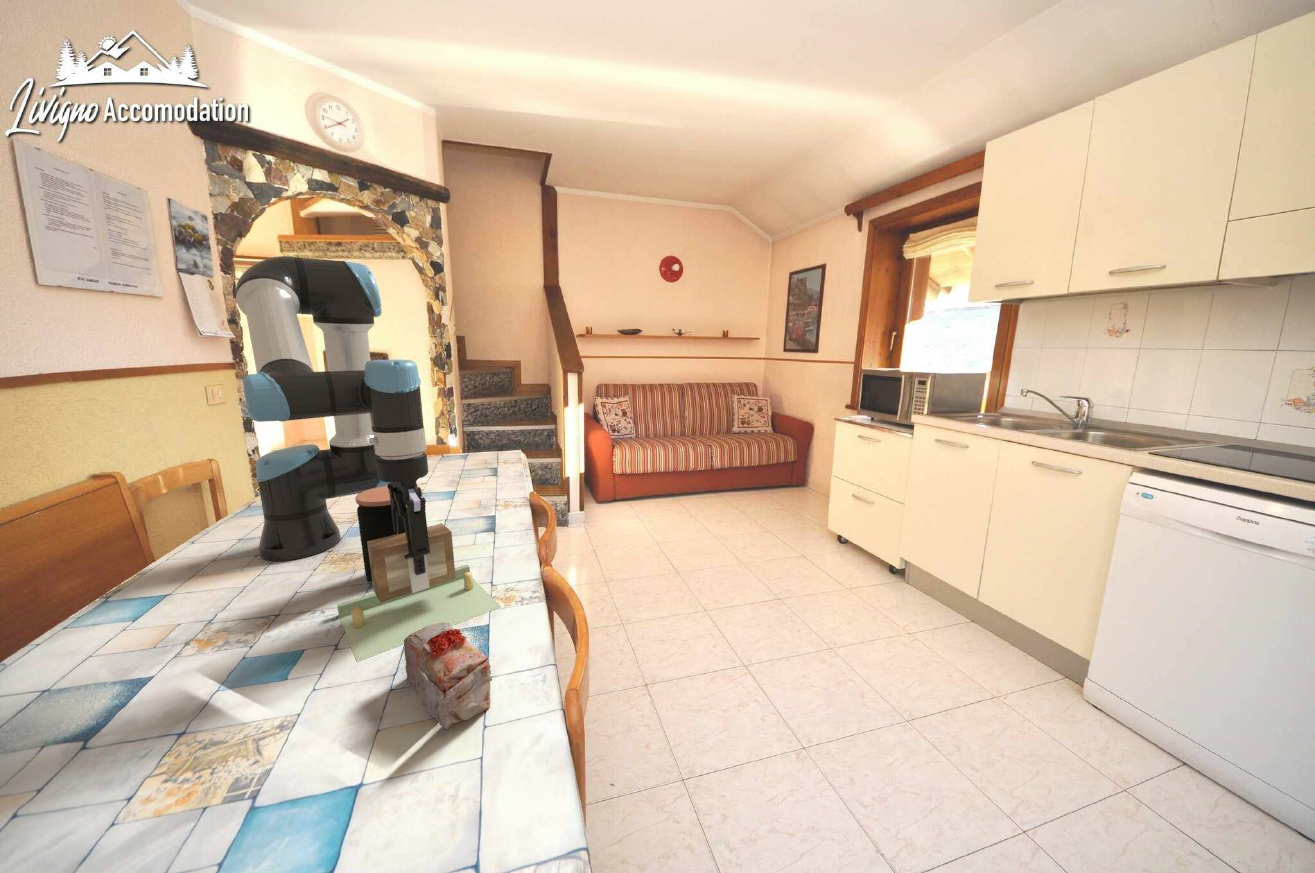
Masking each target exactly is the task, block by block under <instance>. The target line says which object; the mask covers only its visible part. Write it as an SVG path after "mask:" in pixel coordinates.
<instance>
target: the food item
mask: <svg viewBox="0 0 1315 873" xmlns="http://www.w3.org/2000/svg"><path fill="white" fill-rule="evenodd" d="M403 645H404V647H403V651H404V652H403V653H404V660H405V661H404V662H405V667H404V668H405V672H406V680H407V681H408V683H409V685H411V686H412V688H413V689H414V691H415V692H416V693H417V695H418V696H419V697H420V700H421V702H422V704H423V705H424V707H425V708H426V709H427V712H428V714H429V715H430V716H431V717H433V718H435V720H436V721H437V722H438V723H439V725H440V726H443V727H444V729H445V731H447V730H448V729H450V728H451V726H452V727H453V726H455V725H457V724H458V723H459V724H460V723H462V722H464V721H468V720H469V719H472V718H474V716H476V715H477V714H478V715H479V714H480V713H482V712H485V711H486V710H488V709H489V708H491V682H492V680H493V678H492V676H491V674H492V671H491V664H490V658H489V657H488V656H486V655H485V654H484V653H483V652H482V651H481V650H479V648H477V647H476V646H475V645H474V644H473V643H471V642H470V641H469V640H468V639H467V635H463V633H462V631H461V629H458V628H454V626H453V627H452V626H451V625H450V623H444V622H442V623H436V624H432V625H429V626H426V627H424V628H422V629H421V630H418V631H416V632H414V633H412V634H410V635H409V636H407V637H406V638H405V640H404V644H403Z"/></svg>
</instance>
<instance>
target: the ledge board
mask: <svg viewBox="0 0 1315 873" xmlns="http://www.w3.org/2000/svg"><path fill="white" fill-rule="evenodd" d="M473 574H474V573H473V572H471V569H470V565H468V564H464V565H461V566H458V567H455V576H456V579H453V580H449V581H446V582H443V583H440V584H437V585H434V586H431V587H430V588H427V589H424V590H421V591H418V592H415V593H409V594H406V595H403V596H399V597H396V598H393V599H390V600H387V601H384V602H381V603H380V601H379V599H378V598H377V596H376V594H375V592H373V593H369V594H366V595H362V596H360V597H357V598H353V599H349V600H347V601H343V602H340V603H338V604H336V607H337V613H338V616H339V620H340V621H341V625H342V627H343V629H344V632H345V635H346V638H347V639H348V642H349V645H350V647H351V650H352V652H353V655H354V658H355V661H356V663H358V662H361V661H364V660H367V659H370V658H372V657H374V656H377V655H380V654H382V653H384V652H387V651H390V650H393V649H395V648H397V647H401V646H403V645H404V640H405V638H406V637H407V636H409V635H410V634H412V633H414V632H416V631H418V630H421V629H422V628H424V627H426V626H429V625H432V624H436V623H442V622H444V623H450V625H451V627H452V626H453V627H454V626H455V625H458V624H460V623H463V622H466V621H468V620H471V619H474V618H477V617H479V616H481V615H484V614H486V613H489V612H492V611H495V610H497V609H500V608H502V606H501V605H500V604H499V603H498V602H497V601H496V600H495V599H494V598H493V596H491V594H489V593H488V592H487V591H486V590H485V589H484V588H483V587H482V585H480V584H479V583H478V582H477V580H475V579H474V575H473Z"/></svg>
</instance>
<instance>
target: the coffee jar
mask: <svg viewBox="0 0 1315 873" xmlns="http://www.w3.org/2000/svg"><path fill="white" fill-rule="evenodd" d="M354 497H355V503H356V504H357V505H358V507H357V508H356V513H357V522H358V528H359V535H360V543H361V544H360V545H361V550H362V551H361V552H362V558H363V566H364V574H365V580H366V581H367V582H368V583H373V582H372V575H371V567H370V560H369V552H368V544H367V541H371V540H376V539H380V538H384V537H388V536H392V535H394V528H393V520H392V511H391V502H390V495H389V489H388V487H387V486H383V487H377V488H373V489H369V490H366V491H364V492H361V493H358V494H356V495H355V496H354Z"/></svg>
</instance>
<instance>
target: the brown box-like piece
mask: <svg viewBox="0 0 1315 873" xmlns="http://www.w3.org/2000/svg"><path fill="white" fill-rule="evenodd" d="M427 531H428V540H429V548H430V553H429V554H426V558H427V568H428V577H429V587H431V586H434V585H437V584H440V583H443V582H446V581H449V580H453V579H456V576H455V568H456V566H455V558H454V557H455V554H454V546H453V533H452V531H451V530H450V529H449V528H448V527H447V526H446V525H445V524H444V523H438V524H435V525H434V524H433V525H430V526H427ZM367 544H368V552H369V560H370V567H371V575H372V582H371V583H372V588H373V590H372V591H373V593H375V594H376V596H377V598H378V599H379V601H380V603H381V602H384V601H387V600H390V599H393V598H396V597H399V596H403V595H406V594H409V593H412V592H411V584H410V575H409V566H408V559H405V557H404V555H408V554H409V550H408V545H407V539H406V533H405V532H404V533H400V534H396V535H392V536H388V537H384V538H380V539H376V540H371V541H367Z"/></svg>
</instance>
